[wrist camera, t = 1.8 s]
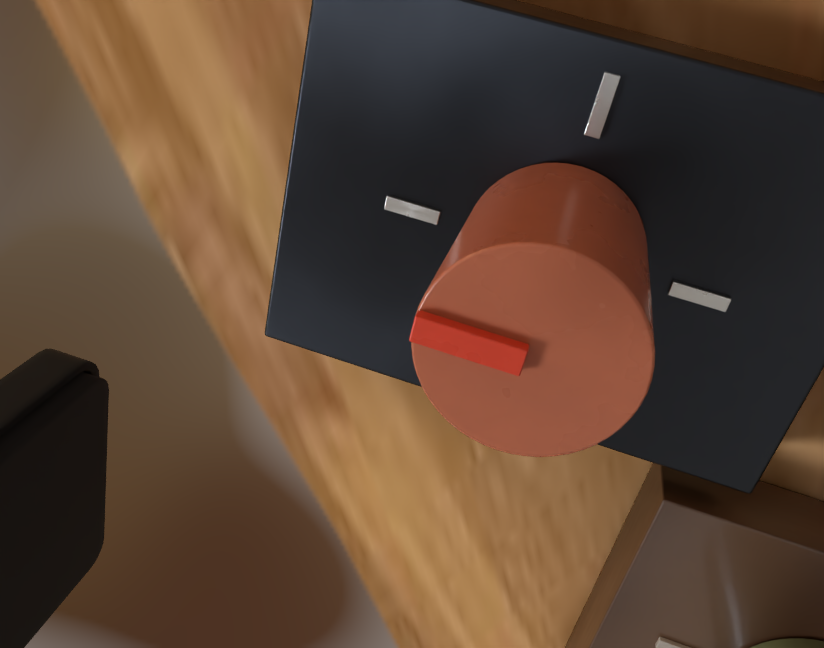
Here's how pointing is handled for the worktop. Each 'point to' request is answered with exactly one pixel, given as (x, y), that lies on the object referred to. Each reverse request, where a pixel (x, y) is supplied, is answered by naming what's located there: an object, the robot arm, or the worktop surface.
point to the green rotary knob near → (791, 643)
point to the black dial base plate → (573, 144)
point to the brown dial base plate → (709, 569)
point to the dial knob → (540, 315)
